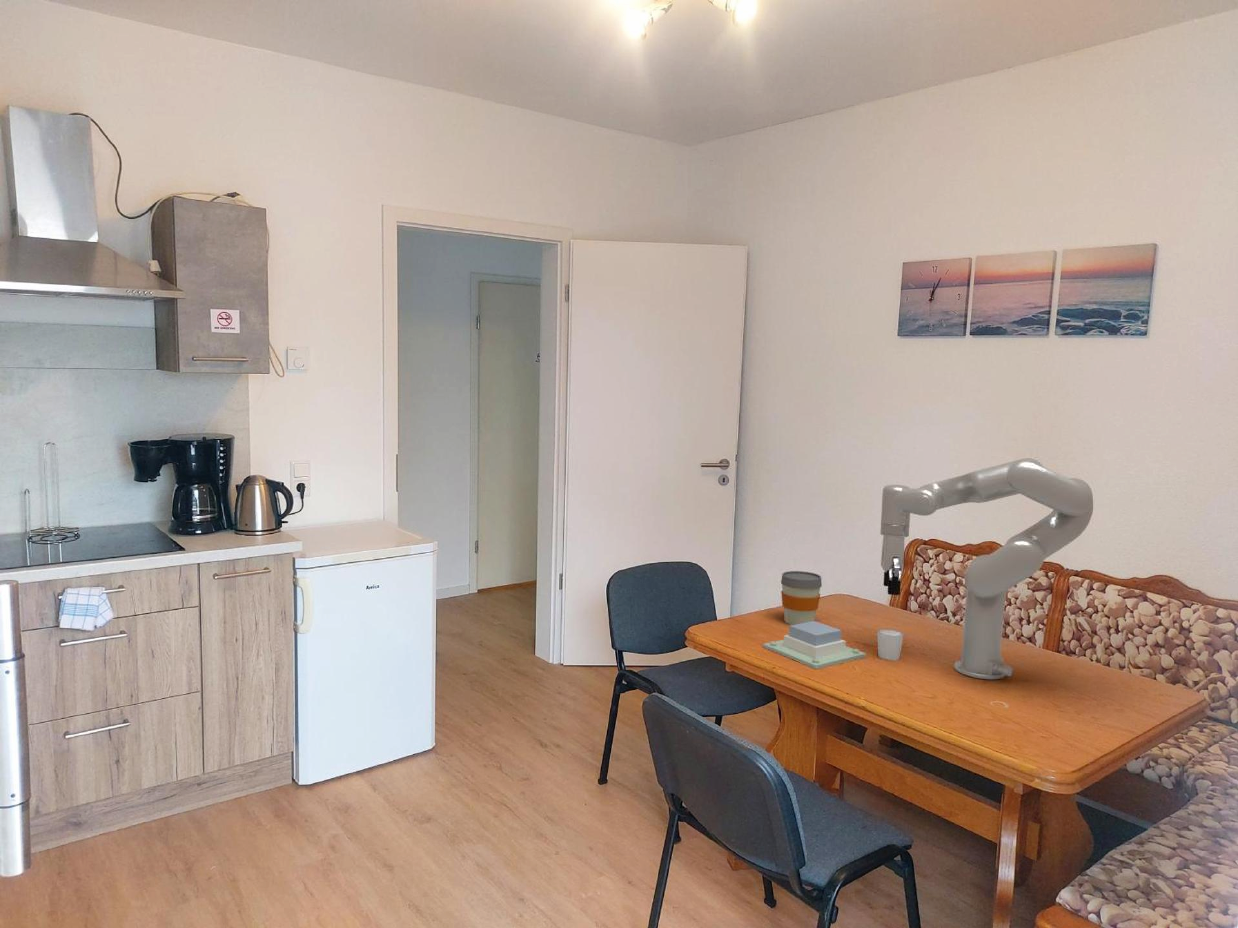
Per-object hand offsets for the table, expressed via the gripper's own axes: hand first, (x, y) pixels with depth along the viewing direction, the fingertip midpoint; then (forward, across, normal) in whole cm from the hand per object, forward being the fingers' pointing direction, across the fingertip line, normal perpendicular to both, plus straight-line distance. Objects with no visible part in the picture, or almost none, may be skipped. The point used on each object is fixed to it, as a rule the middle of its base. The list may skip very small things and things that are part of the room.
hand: (891, 590), depth 232 cm
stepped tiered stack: (+18, +4, -20) cm, 28 cm away
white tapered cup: (+19, +1, 0) cm, 19 cm away
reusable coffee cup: (+18, -25, -24) cm, 40 cm away
